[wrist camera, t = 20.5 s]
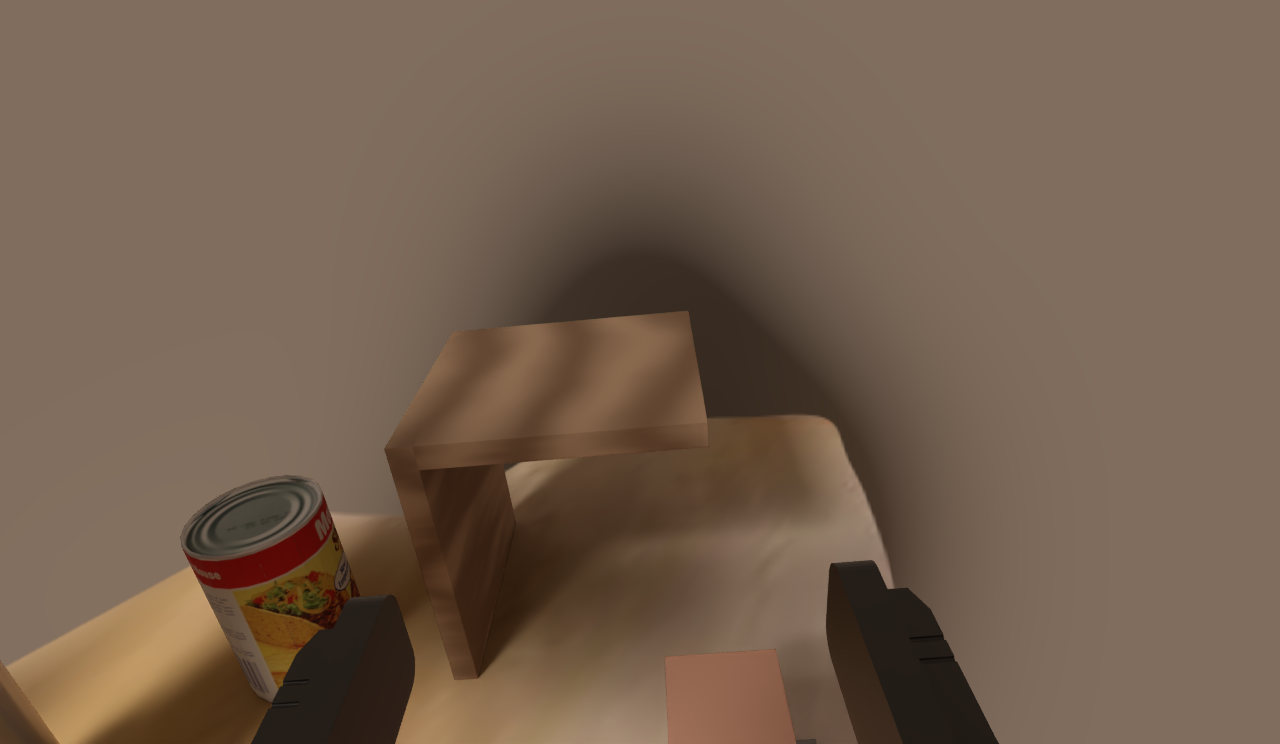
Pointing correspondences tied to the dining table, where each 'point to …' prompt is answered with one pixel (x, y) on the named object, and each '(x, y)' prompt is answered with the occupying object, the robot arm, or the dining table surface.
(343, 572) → the canned food
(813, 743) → the slate mat
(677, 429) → the shelf nook
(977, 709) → the robot arm
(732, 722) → the terracotta block
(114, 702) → the dining table surface
